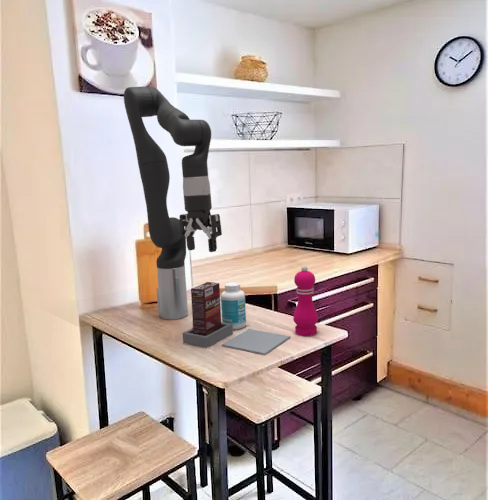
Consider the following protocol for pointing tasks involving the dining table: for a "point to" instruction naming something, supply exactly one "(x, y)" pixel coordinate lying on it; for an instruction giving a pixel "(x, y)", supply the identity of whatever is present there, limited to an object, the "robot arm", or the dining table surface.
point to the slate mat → (256, 341)
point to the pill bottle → (233, 306)
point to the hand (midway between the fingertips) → (202, 250)
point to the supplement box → (206, 308)
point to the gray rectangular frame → (209, 339)
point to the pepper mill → (305, 304)
